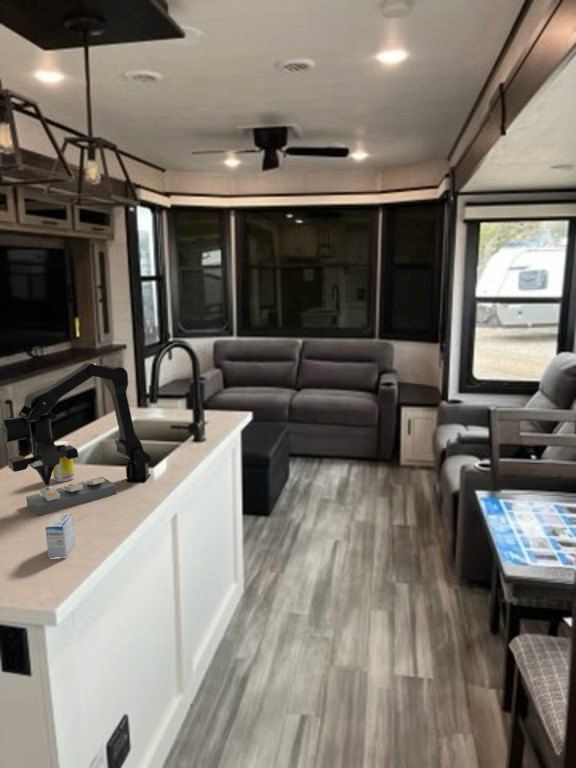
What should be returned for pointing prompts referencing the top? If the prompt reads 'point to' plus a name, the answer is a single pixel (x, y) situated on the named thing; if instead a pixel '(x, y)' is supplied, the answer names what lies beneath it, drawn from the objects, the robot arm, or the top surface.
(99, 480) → the block
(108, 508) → the top surface
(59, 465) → the supplement bottle
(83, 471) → the top surface
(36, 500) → the rocker switch panel
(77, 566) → the top surface
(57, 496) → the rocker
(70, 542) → the medicine box
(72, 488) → the rocker middle
